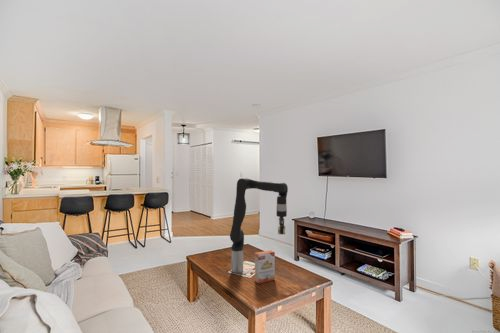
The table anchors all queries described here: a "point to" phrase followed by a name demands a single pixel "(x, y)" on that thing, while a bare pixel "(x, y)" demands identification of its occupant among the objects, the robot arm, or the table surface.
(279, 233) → the metal block
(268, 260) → the cracker box
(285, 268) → the table surface
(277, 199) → the robot arm
